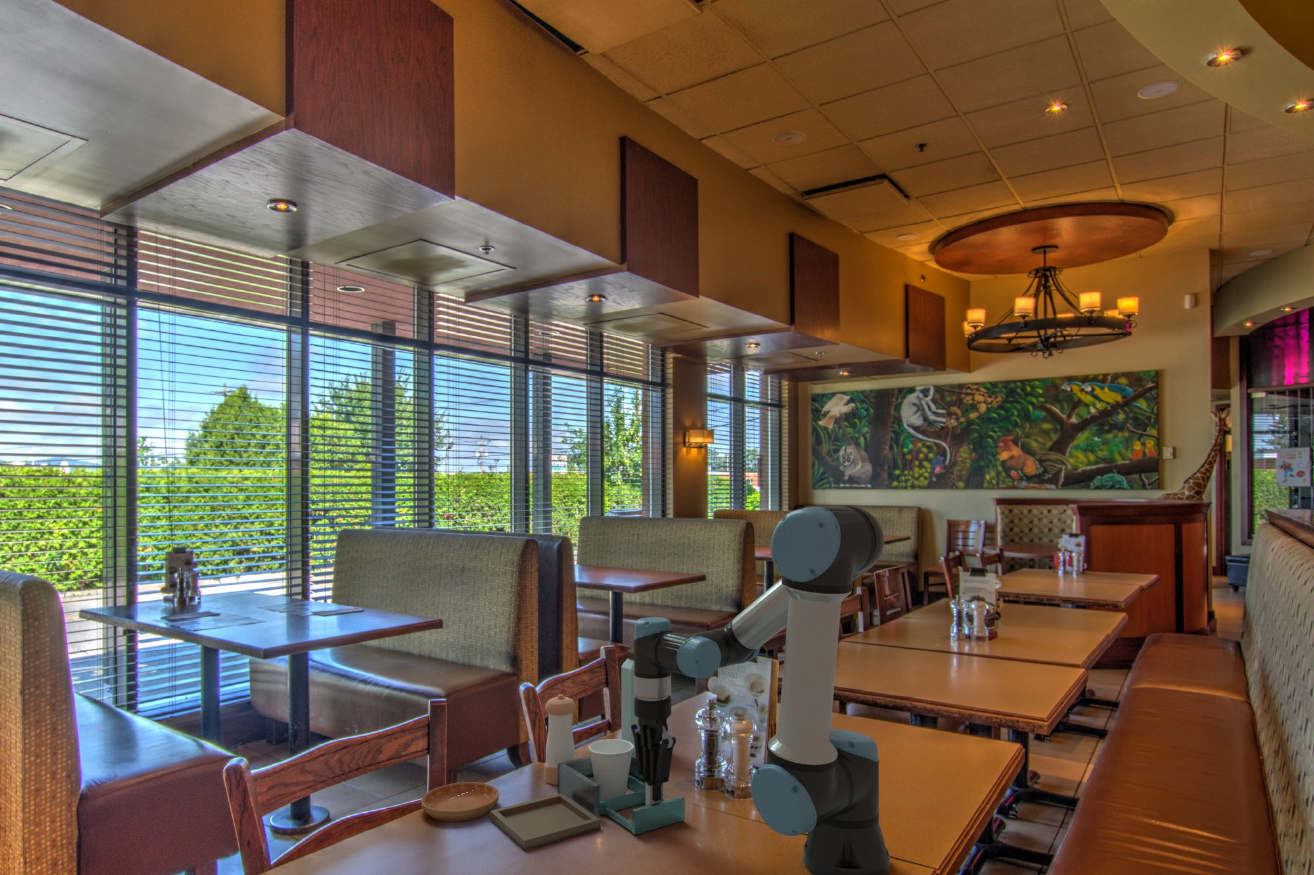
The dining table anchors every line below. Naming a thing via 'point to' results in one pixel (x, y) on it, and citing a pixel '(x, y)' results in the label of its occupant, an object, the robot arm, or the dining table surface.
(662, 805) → the caddy
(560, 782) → the cubby
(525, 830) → the tray
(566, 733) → the pepper shaker
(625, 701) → the water bottle
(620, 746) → the cup
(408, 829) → the dining table surface
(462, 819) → the saucer
